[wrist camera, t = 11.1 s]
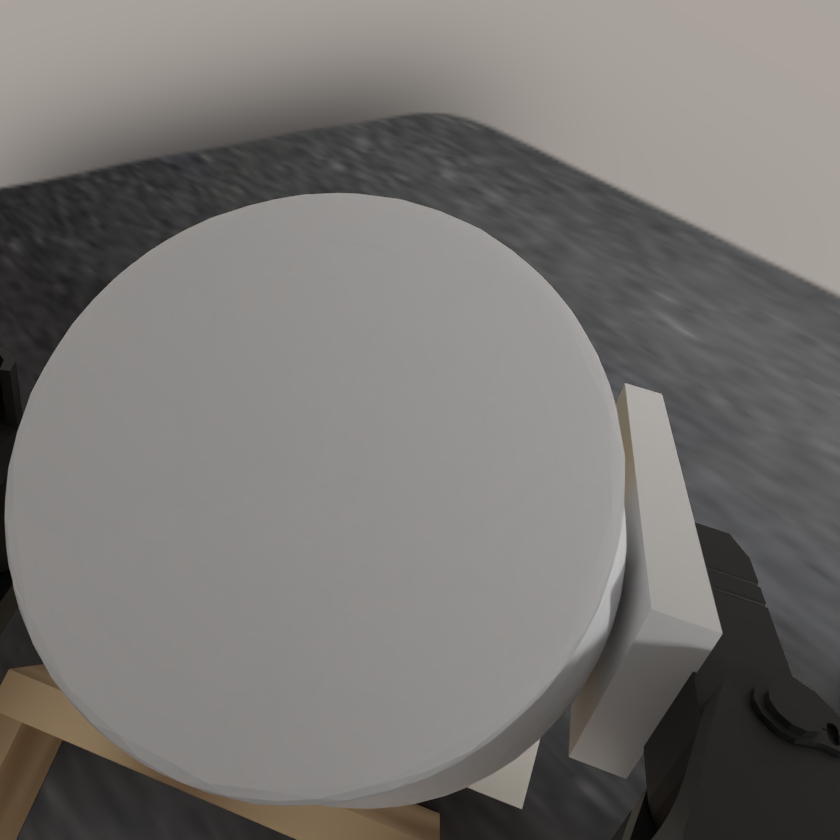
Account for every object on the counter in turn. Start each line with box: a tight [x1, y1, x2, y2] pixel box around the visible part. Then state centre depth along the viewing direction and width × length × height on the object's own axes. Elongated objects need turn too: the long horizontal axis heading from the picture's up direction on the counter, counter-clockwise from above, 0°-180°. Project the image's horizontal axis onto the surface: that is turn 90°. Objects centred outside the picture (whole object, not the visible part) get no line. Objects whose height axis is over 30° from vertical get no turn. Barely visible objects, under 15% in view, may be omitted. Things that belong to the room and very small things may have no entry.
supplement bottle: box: [4, 193, 627, 809], centre depth 11 cm, size 7×7×13 cm
